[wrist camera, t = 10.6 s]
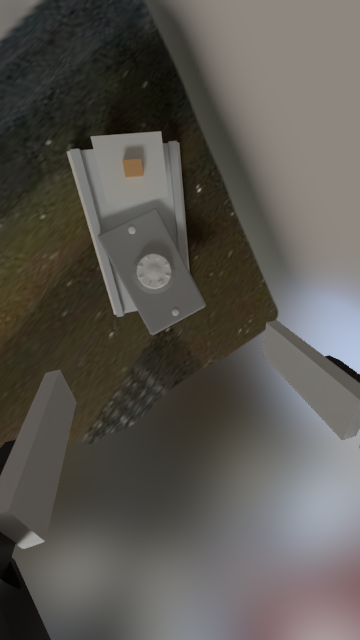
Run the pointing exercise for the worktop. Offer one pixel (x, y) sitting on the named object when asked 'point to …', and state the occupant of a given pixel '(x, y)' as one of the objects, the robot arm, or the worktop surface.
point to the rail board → (129, 194)
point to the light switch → (152, 270)
